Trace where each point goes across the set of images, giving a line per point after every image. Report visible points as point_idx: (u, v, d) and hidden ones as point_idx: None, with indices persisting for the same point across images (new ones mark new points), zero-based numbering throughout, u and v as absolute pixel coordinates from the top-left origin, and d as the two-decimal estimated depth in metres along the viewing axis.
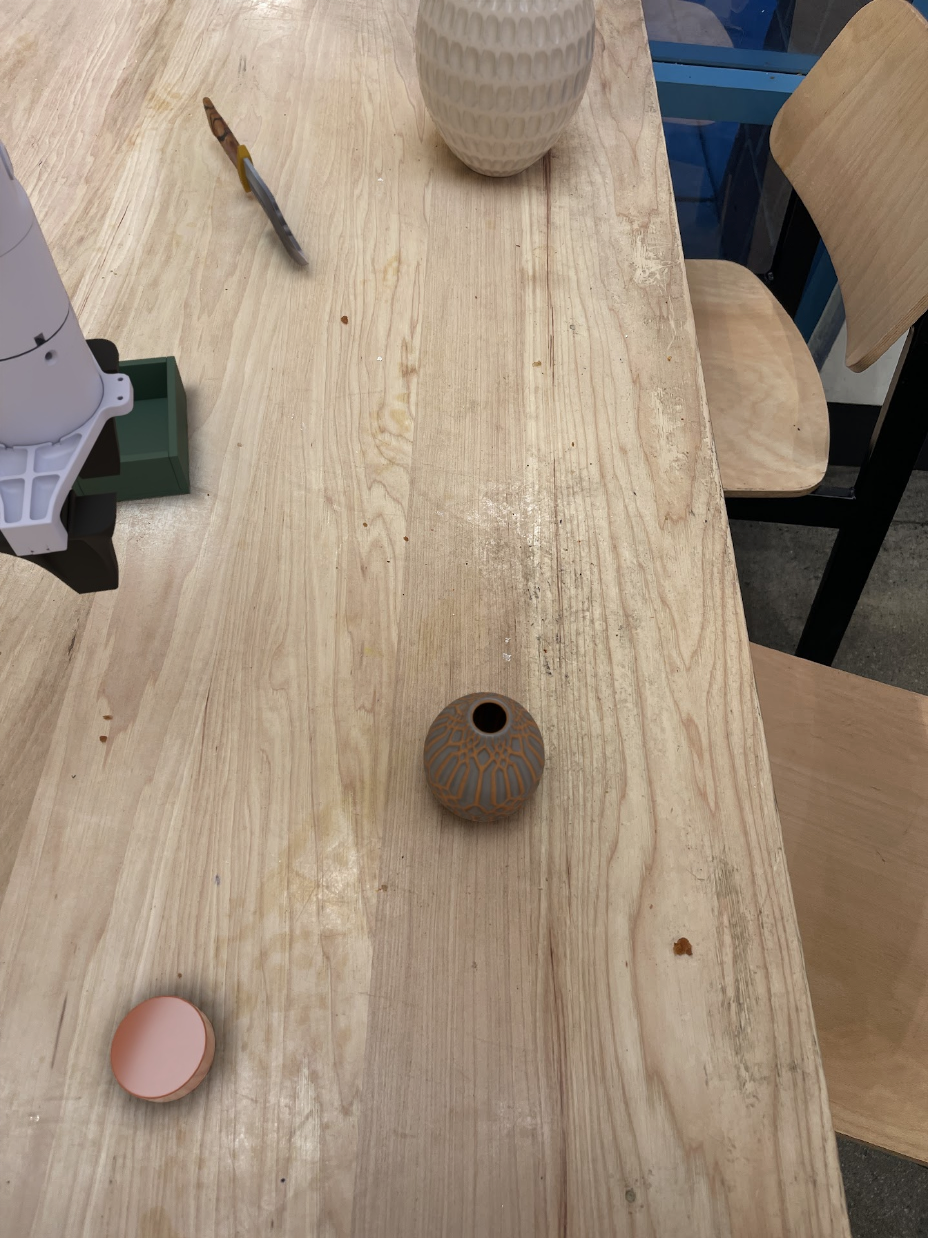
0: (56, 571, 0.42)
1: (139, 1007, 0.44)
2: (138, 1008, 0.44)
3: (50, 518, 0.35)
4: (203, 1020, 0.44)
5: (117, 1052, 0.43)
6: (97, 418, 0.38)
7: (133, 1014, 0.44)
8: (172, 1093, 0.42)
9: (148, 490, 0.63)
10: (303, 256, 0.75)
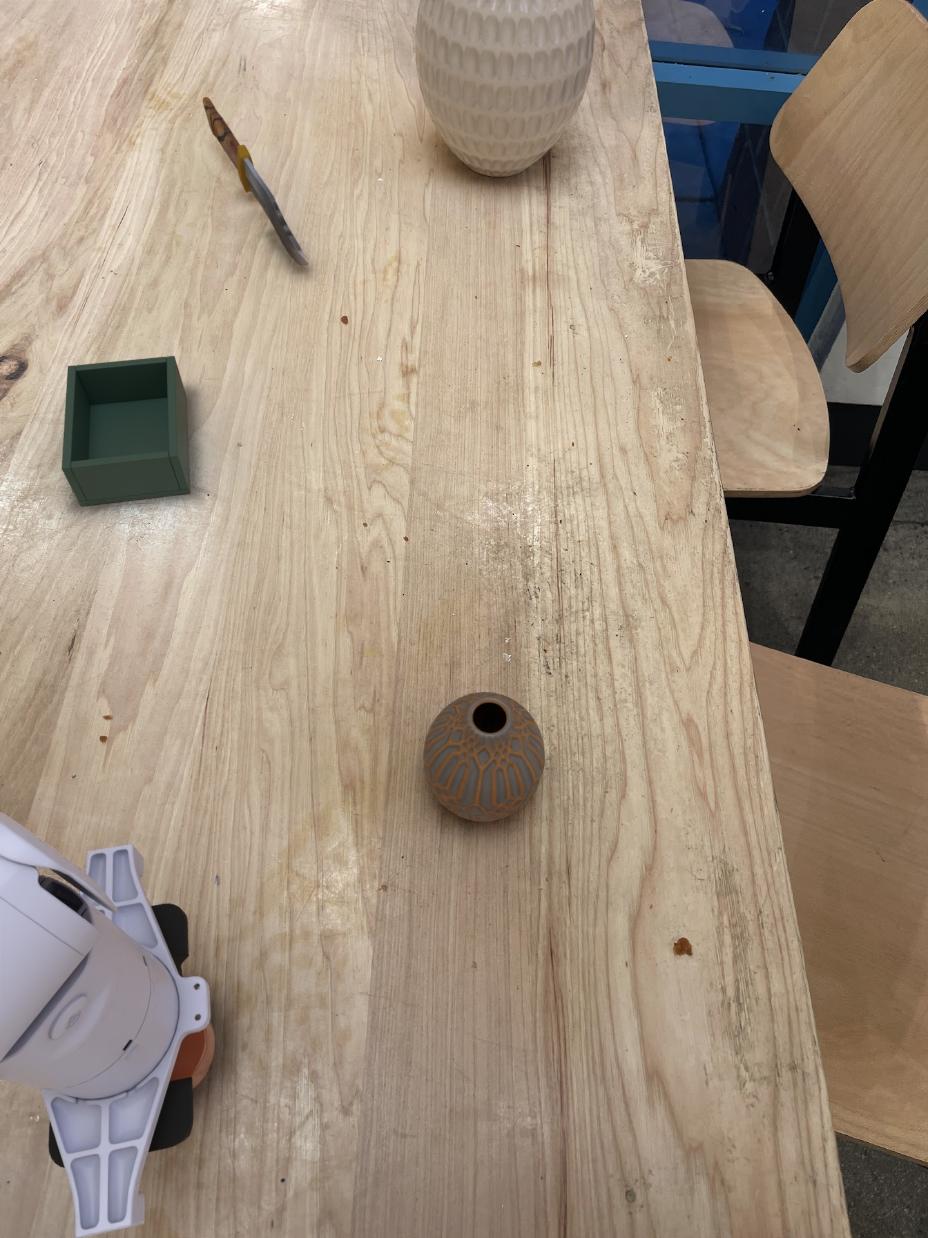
0: None
1: None
2: None
3: (130, 1220, 0.32)
4: None
5: None
6: (174, 1050, 0.35)
7: None
8: None
9: (148, 490, 0.63)
10: (303, 256, 0.75)
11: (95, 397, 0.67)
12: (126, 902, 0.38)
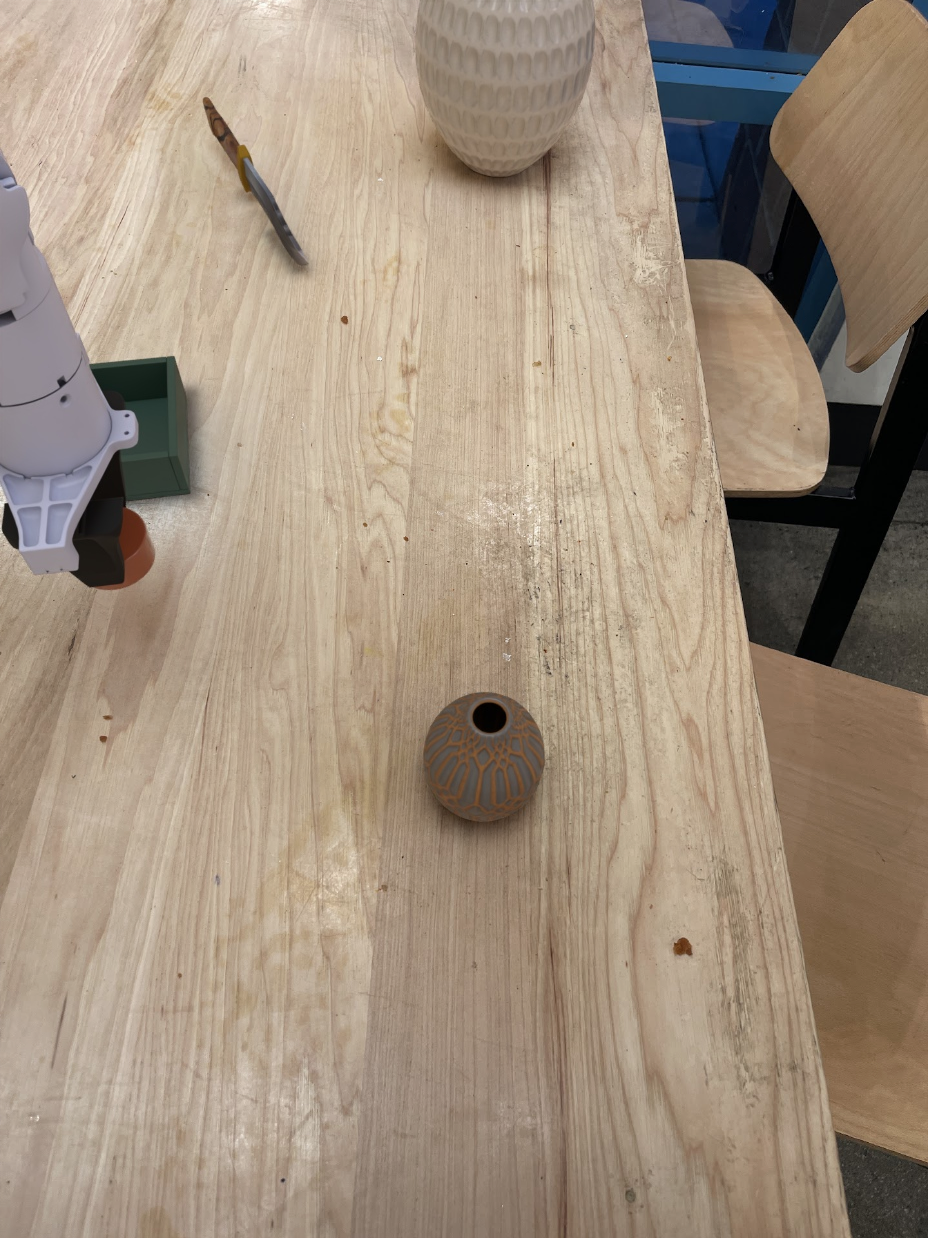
0: None
1: None
2: None
3: (63, 542, 0.40)
4: None
5: None
6: (106, 451, 0.43)
7: None
8: None
9: (148, 490, 0.63)
10: (303, 256, 0.75)
11: None
12: None
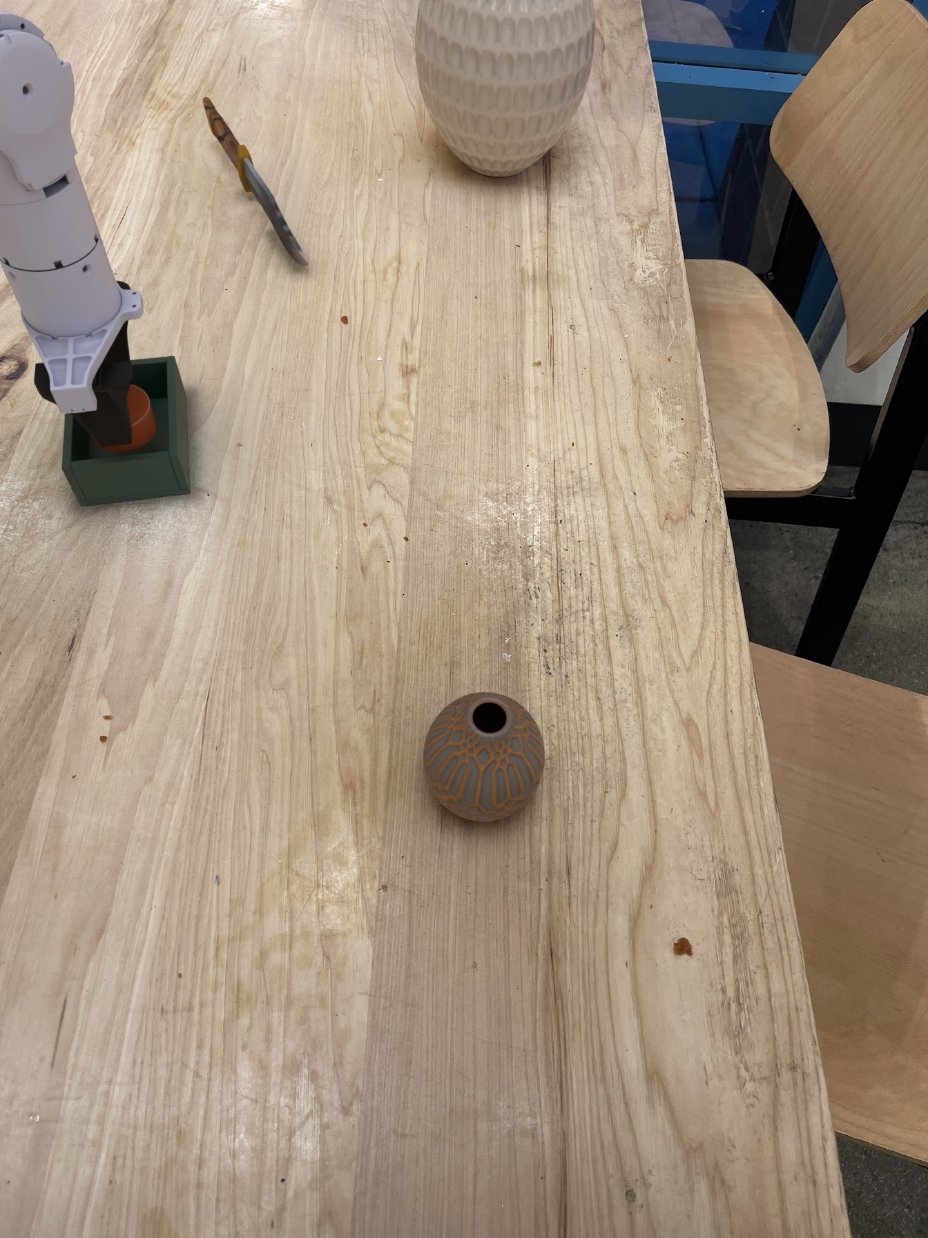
0: (86, 424, 0.58)
1: None
2: None
3: (85, 384, 0.50)
4: (147, 396, 0.62)
5: None
6: (117, 319, 0.53)
7: None
8: None
9: (148, 490, 0.63)
10: (303, 256, 0.75)
11: None
12: None
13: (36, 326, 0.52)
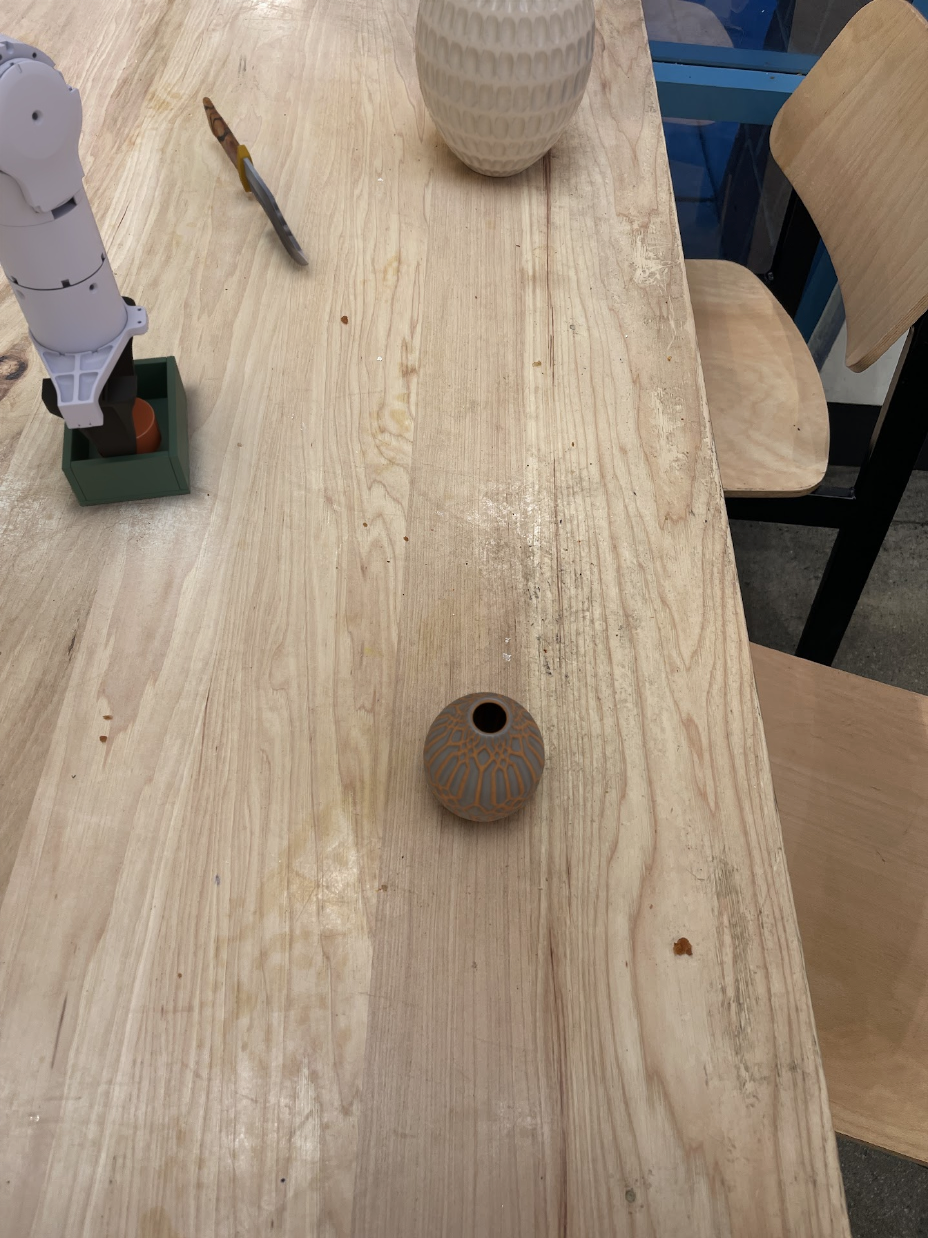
0: (92, 437, 0.59)
1: None
2: None
3: (92, 399, 0.51)
4: (152, 408, 0.63)
5: None
6: (123, 335, 0.54)
7: None
8: None
9: (148, 490, 0.63)
10: (303, 256, 0.75)
11: None
12: None
13: (43, 342, 0.53)
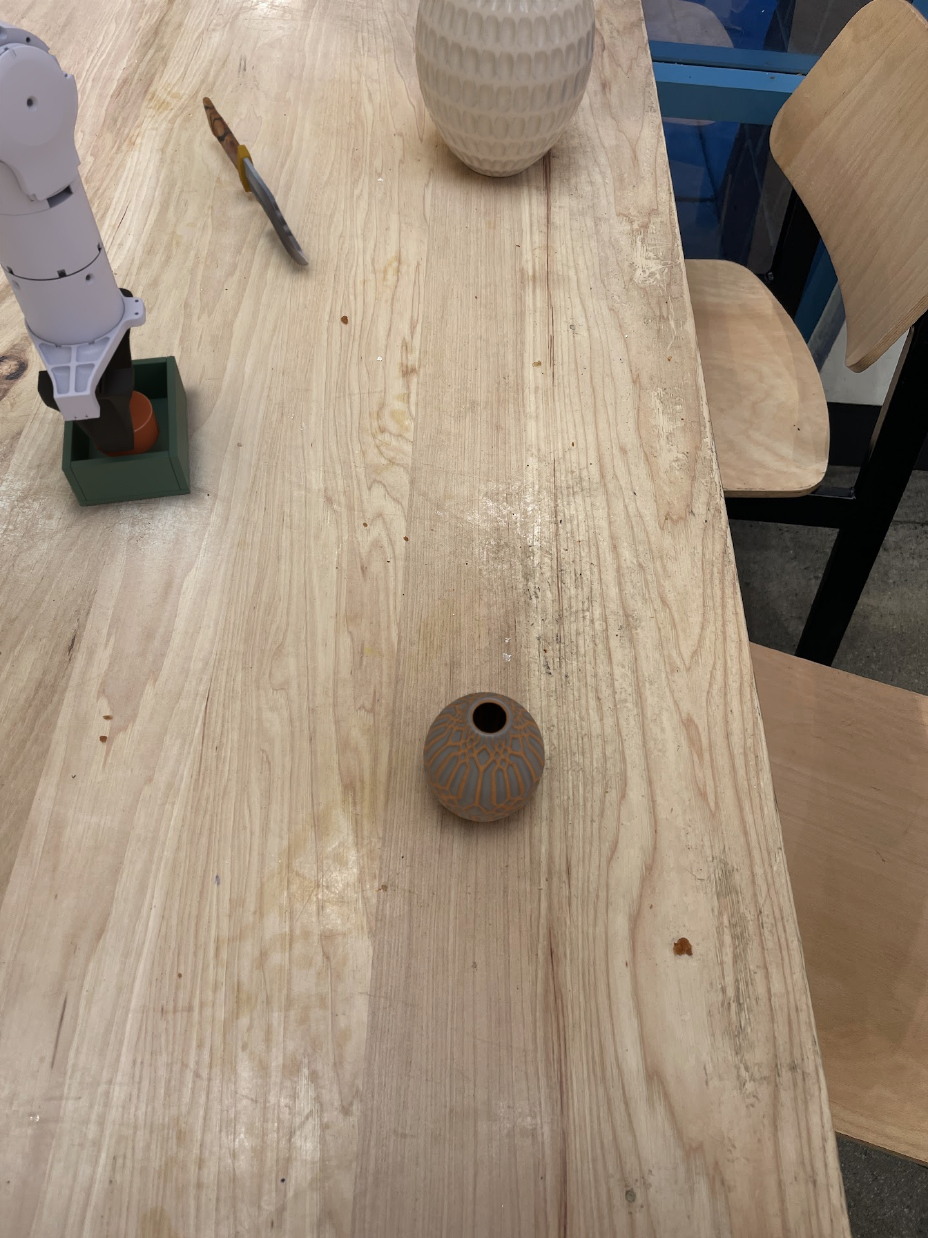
0: (89, 431, 0.58)
1: None
2: None
3: (88, 391, 0.51)
4: (150, 402, 0.62)
5: None
6: (120, 326, 0.54)
7: None
8: None
9: (148, 490, 0.63)
10: (303, 256, 0.75)
11: None
12: None
13: (40, 334, 0.53)
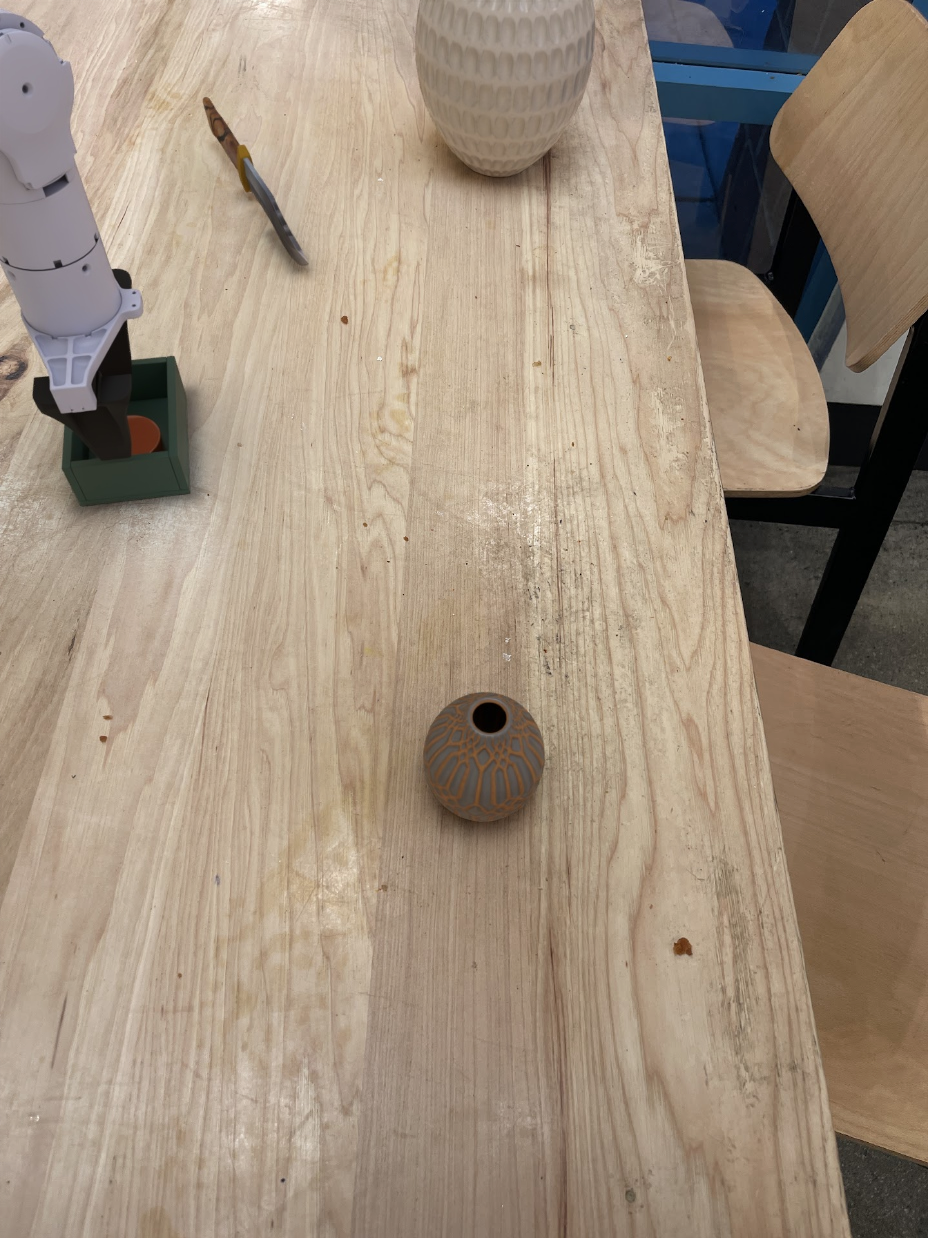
0: (85, 438, 0.57)
1: None
2: None
3: (85, 383, 0.50)
4: (158, 427, 0.64)
5: None
6: (117, 318, 0.53)
7: None
8: None
9: (148, 490, 0.63)
10: (303, 256, 0.75)
11: None
12: None
13: (36, 325, 0.52)
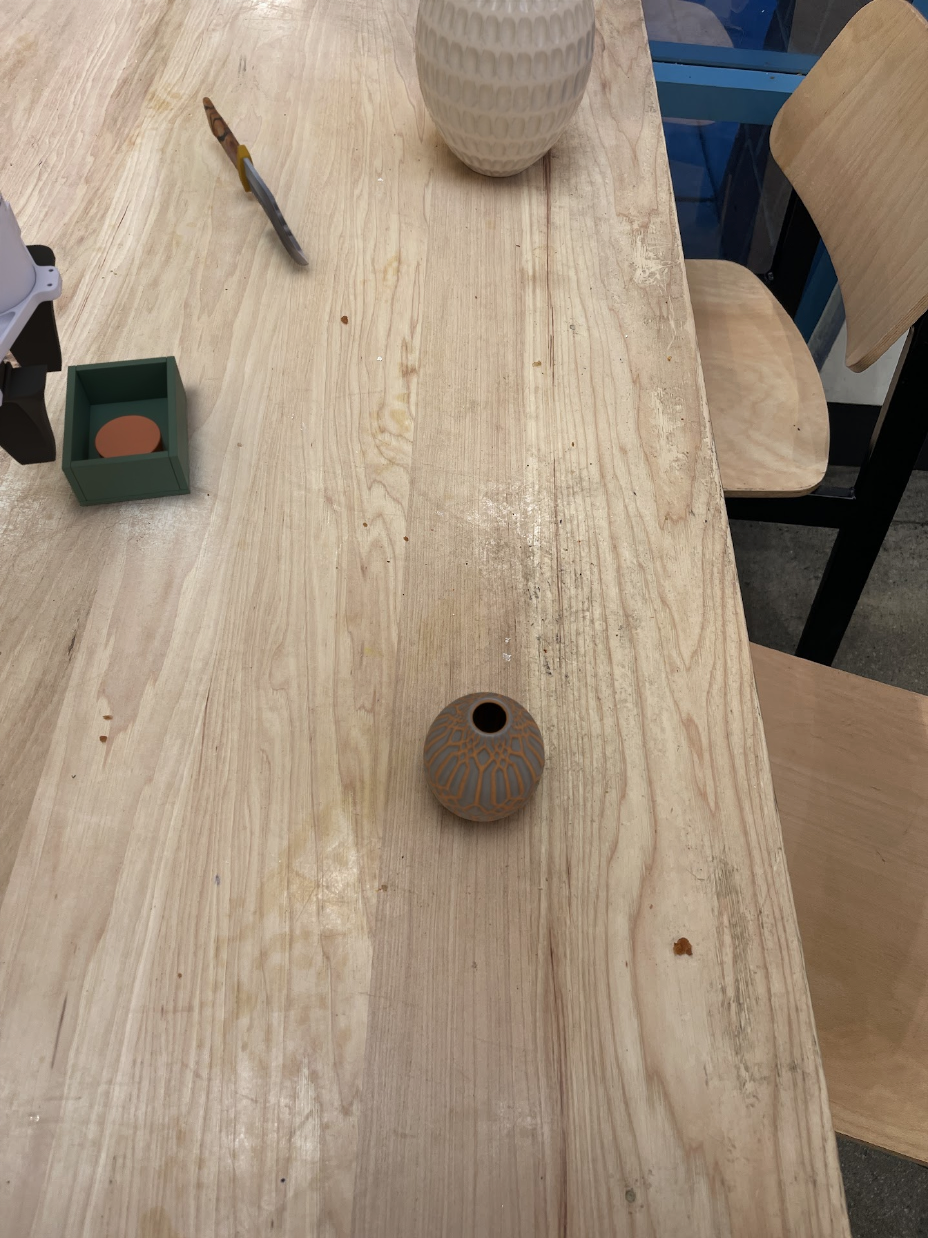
0: None
1: (115, 419, 0.64)
2: (114, 420, 0.64)
3: None
4: (158, 427, 0.64)
5: (100, 439, 0.63)
6: (29, 300, 0.46)
7: (110, 422, 0.64)
8: None
9: (148, 490, 0.63)
10: (303, 256, 0.75)
11: (95, 397, 0.67)
12: None
13: None
